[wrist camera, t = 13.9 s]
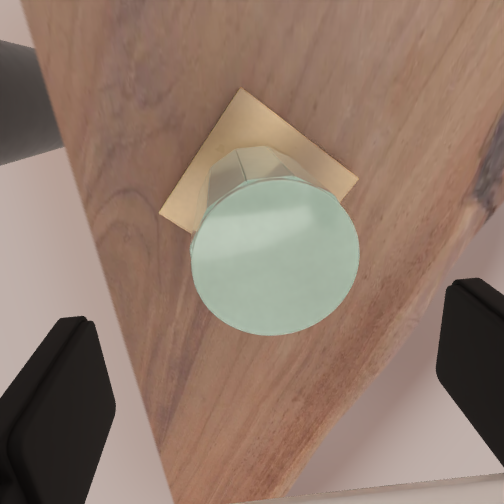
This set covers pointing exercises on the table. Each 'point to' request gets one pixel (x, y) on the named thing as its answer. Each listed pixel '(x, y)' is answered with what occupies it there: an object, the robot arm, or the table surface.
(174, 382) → the table surface
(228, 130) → the cup stand
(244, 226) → the cup
